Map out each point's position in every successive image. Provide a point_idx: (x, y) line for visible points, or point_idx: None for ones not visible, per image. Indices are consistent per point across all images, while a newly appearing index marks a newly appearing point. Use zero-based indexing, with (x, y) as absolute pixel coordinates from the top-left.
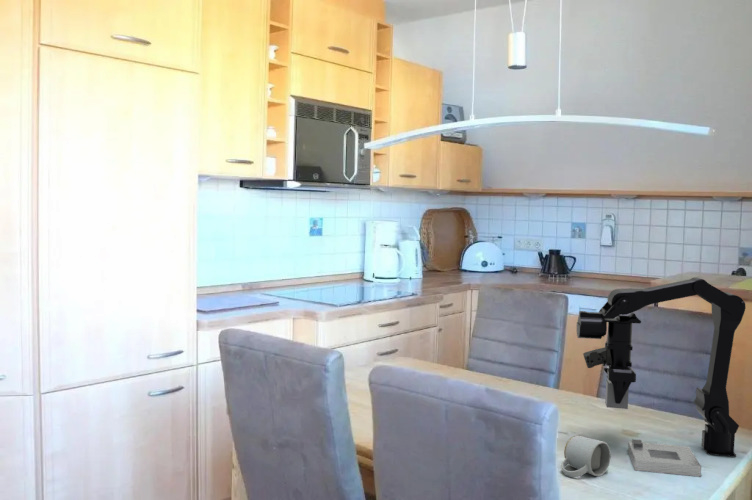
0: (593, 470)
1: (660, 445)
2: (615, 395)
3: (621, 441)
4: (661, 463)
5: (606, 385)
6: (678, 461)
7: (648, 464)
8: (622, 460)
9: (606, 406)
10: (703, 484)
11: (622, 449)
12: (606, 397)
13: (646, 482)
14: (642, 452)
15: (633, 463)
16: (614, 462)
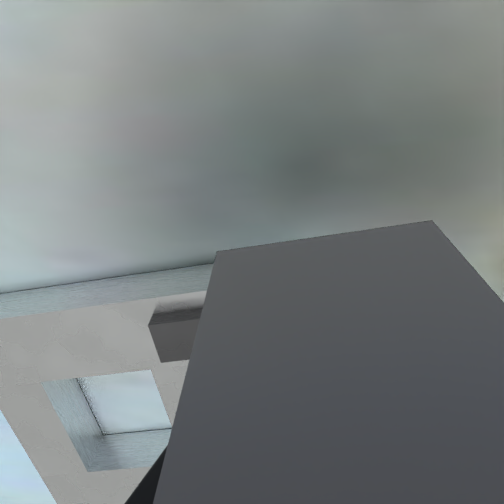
0: None
1: None
2: (144, 485)
3: (387, 221)
4: (5, 412)
5: (469, 463)
6: (64, 465)
7: None
8: (75, 241)
9: (243, 248)
10: (15, 481)
11: (247, 233)
12: (294, 302)
13: None
14: (85, 351)
15: (30, 294)
16: (19, 207)
